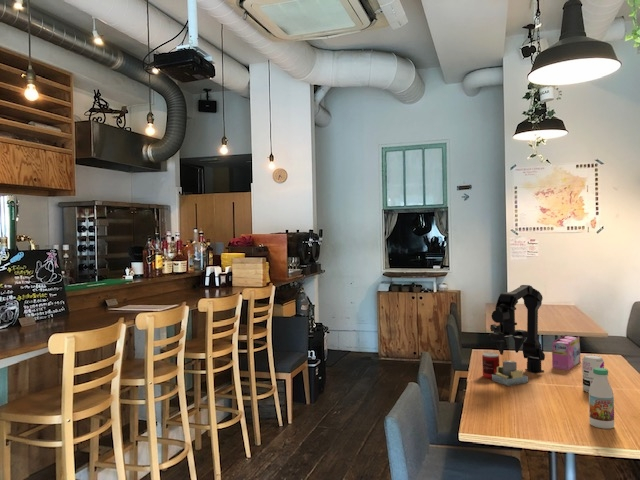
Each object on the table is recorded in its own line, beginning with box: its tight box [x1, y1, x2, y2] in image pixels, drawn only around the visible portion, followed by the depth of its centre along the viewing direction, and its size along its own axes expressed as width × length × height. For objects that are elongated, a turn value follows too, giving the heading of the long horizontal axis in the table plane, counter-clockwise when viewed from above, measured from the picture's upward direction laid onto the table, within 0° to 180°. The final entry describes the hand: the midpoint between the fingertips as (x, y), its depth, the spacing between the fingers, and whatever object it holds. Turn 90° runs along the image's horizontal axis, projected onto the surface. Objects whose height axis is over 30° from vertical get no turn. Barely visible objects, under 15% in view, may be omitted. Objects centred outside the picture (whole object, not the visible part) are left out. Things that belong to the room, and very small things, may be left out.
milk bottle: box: [588, 367, 615, 430], centre depth 177 cm, size 8×8×20 cm
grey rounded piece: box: [502, 360, 518, 377], centre depth 233 cm, size 6×6×6 cm
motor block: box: [491, 365, 529, 387], centre depth 233 cm, size 14×10×6 cm
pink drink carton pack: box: [551, 334, 581, 371], centre depth 262 cm, size 24×8×14 cm, turn 138°
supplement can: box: [581, 354, 605, 394], centre depth 215 cm, size 8×8×15 cm
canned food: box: [481, 351, 500, 380], centre depth 241 cm, size 8×8×11 cm
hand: (509, 353), depth 233 cm, fingers open, 9 cm apart
